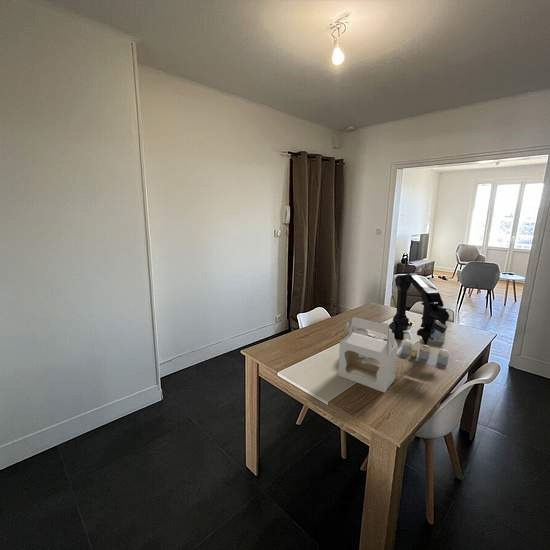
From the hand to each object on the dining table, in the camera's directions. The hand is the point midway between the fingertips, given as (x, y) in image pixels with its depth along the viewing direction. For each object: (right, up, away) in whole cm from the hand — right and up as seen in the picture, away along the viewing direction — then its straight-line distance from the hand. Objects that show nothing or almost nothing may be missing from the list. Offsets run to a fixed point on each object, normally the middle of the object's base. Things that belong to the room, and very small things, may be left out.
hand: (425, 344), depth 152 cm
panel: (0, -8, +2) cm, 9 cm away
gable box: (-36, -12, -16) cm, 41 cm away
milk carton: (-32, -7, +6) cm, 34 cm away
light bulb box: (+19, -4, +27) cm, 33 cm away
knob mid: (0, -7, +2) cm, 7 cm away
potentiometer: (-6, -7, +1) cm, 9 cm away
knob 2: (+7, -8, -4) cm, 11 cm away
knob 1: (-7, -6, +7) cm, 11 cm away
